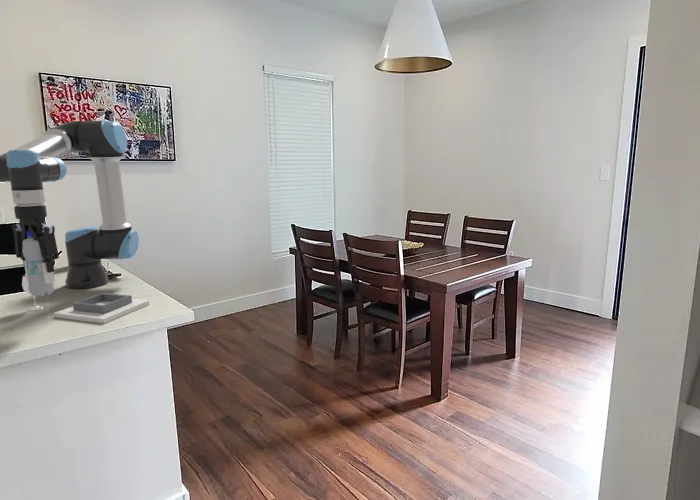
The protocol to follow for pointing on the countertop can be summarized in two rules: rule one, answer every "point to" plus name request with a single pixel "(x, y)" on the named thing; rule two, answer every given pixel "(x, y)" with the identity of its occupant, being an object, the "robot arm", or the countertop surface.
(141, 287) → the countertop surface
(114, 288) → the countertop surface
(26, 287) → the wineglass
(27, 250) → the bottle
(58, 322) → the countertop surface
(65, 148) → the robot arm
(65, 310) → the dock
